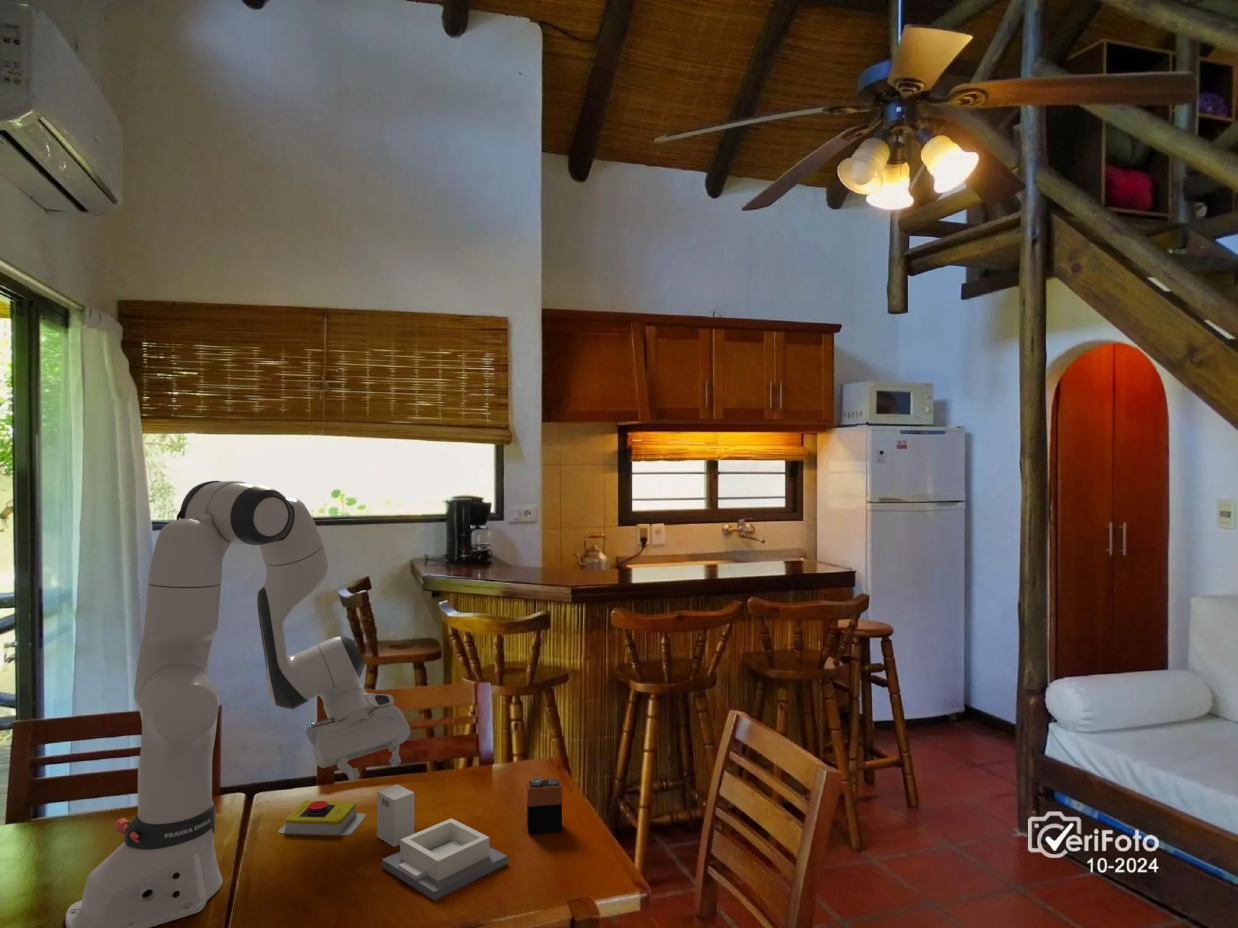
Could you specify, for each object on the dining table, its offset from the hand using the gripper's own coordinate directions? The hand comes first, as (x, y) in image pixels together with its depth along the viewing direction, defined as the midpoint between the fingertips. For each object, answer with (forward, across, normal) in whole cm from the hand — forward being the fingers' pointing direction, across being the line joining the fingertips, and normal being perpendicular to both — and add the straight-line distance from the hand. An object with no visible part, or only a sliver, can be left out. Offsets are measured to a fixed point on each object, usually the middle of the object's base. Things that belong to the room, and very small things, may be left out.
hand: (376, 771), depth 159 cm
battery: (+27, +22, -10) cm, 36 cm away
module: (+13, 0, +3) cm, 13 cm away
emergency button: (+2, -7, +14) cm, 16 cm away
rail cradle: (+24, 0, -9) cm, 26 cm away
